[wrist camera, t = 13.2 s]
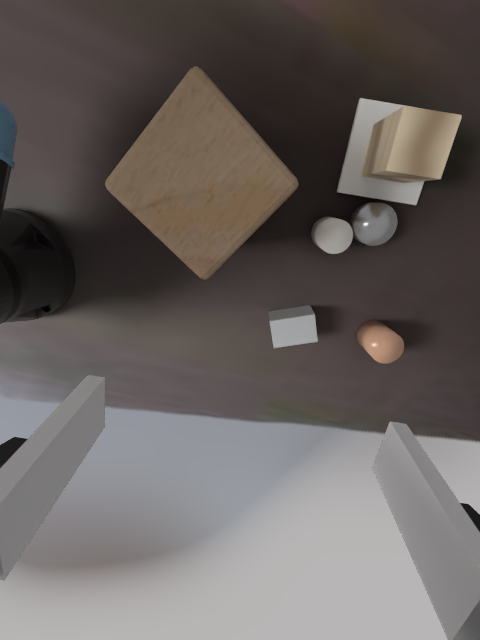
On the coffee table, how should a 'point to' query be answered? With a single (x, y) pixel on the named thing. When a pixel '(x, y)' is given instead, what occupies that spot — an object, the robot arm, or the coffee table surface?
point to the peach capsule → (380, 341)
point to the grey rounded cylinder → (332, 234)
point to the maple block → (410, 145)
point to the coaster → (355, 157)
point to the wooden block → (201, 176)
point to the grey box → (293, 326)
